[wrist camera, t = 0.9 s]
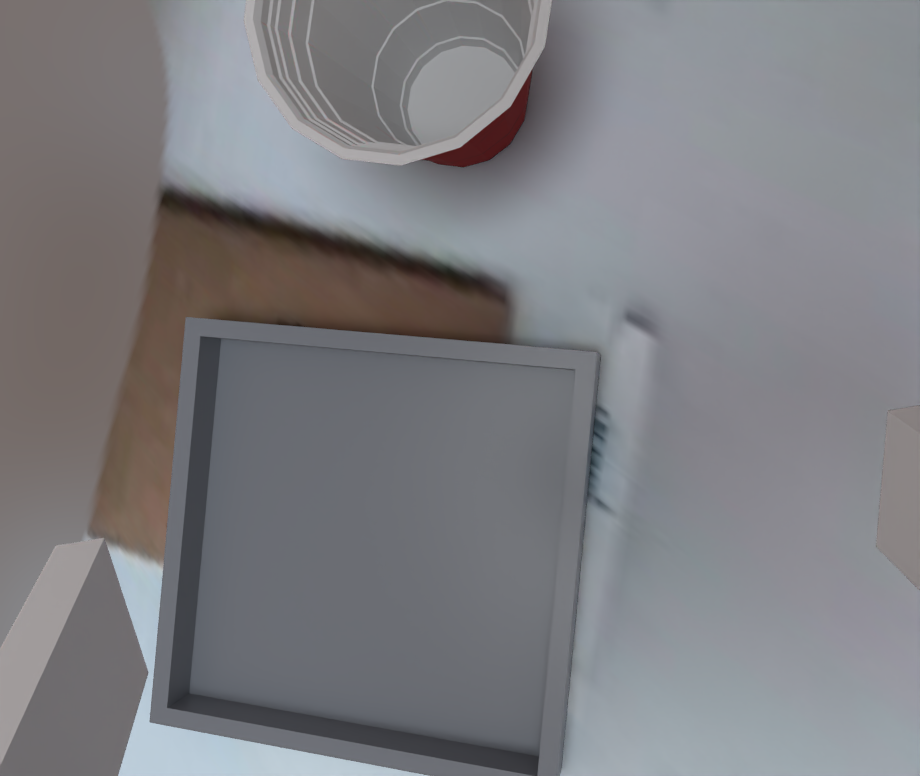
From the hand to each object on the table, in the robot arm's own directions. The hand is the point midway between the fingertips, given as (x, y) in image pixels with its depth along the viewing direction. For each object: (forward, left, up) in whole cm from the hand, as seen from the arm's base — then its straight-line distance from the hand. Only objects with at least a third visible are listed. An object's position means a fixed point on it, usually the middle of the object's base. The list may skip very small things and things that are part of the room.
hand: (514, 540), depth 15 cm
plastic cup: (-15, -7, -25) cm, 30 cm away
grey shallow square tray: (+5, -9, -25) cm, 27 cm away
